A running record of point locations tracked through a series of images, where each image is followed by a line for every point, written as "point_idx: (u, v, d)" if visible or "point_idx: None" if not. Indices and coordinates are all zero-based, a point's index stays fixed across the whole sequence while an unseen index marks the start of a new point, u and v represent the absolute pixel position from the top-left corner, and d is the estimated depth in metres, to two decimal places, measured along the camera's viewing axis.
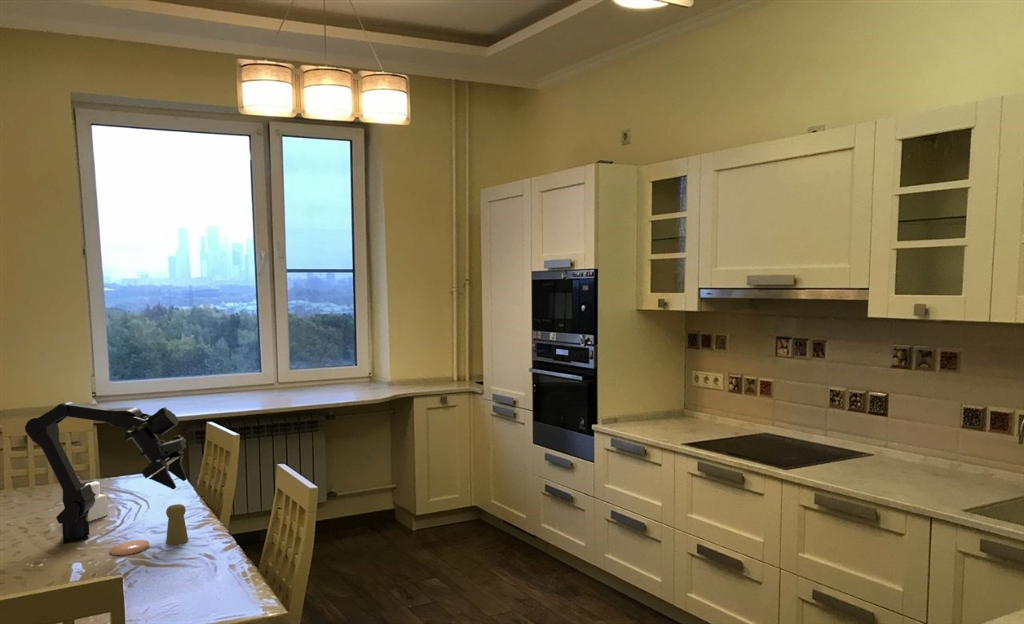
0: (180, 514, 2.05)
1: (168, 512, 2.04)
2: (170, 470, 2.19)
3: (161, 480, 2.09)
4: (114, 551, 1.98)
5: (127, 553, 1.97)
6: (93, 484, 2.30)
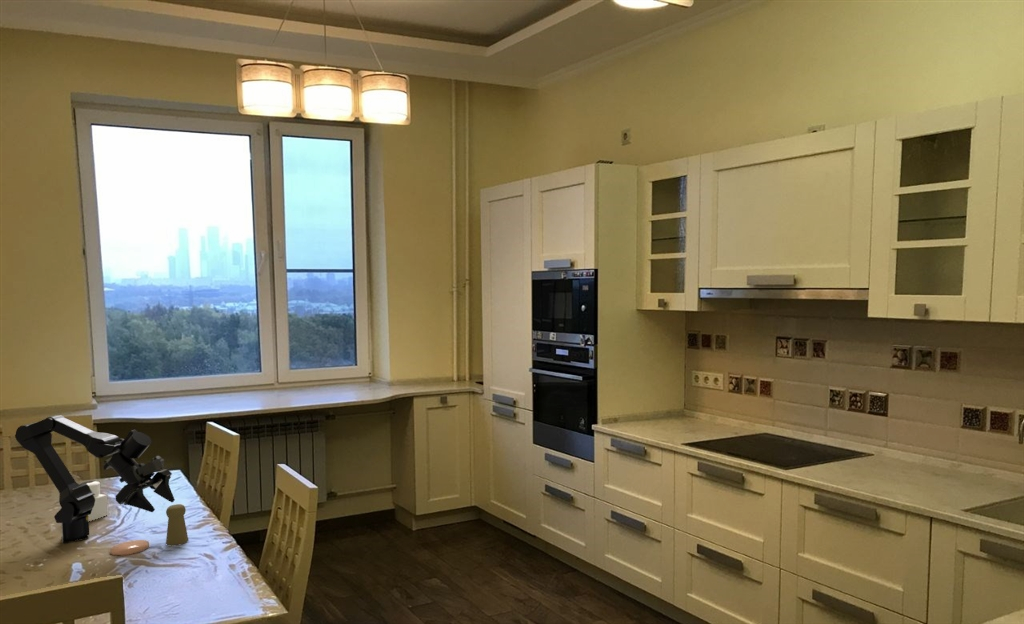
0: (180, 514, 2.05)
1: (168, 512, 2.04)
2: (158, 493, 2.12)
3: (138, 504, 2.02)
4: (114, 551, 1.98)
5: (127, 553, 1.97)
6: (93, 484, 2.30)
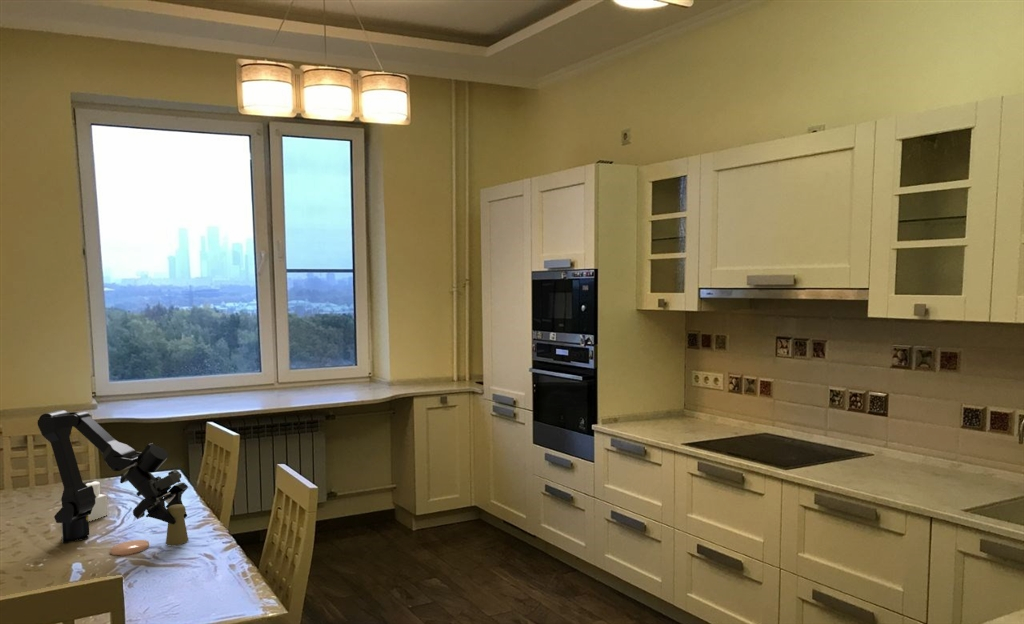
0: (180, 514, 2.05)
1: None
2: None
3: (159, 516, 2.03)
4: (114, 551, 1.98)
5: (127, 553, 1.97)
6: (93, 484, 2.30)
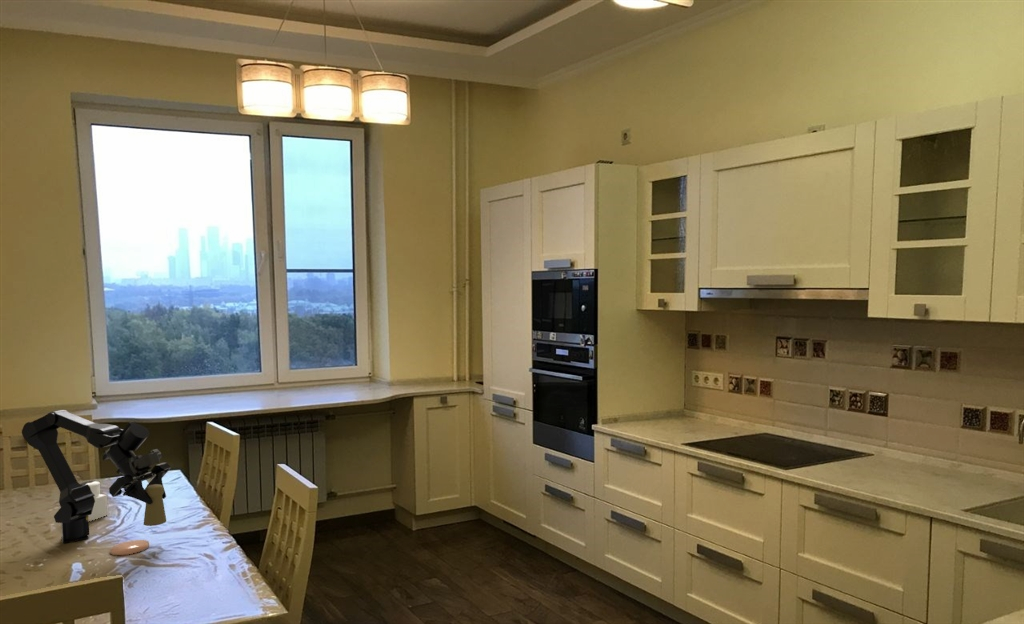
0: (157, 494, 2.02)
1: None
2: None
3: (136, 495, 2.00)
4: (114, 551, 1.98)
5: (127, 553, 1.97)
6: (93, 484, 2.30)
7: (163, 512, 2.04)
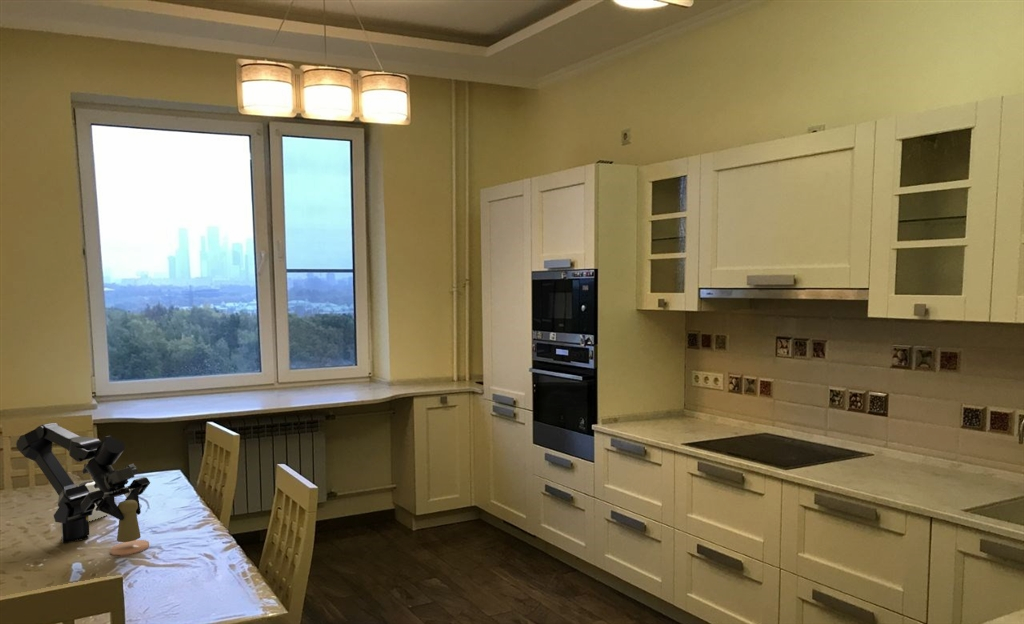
0: (129, 510, 2.00)
1: (118, 507, 2.00)
2: None
3: (109, 511, 1.99)
4: (114, 551, 1.98)
5: (127, 553, 1.97)
6: (93, 484, 2.30)
7: (136, 528, 2.01)
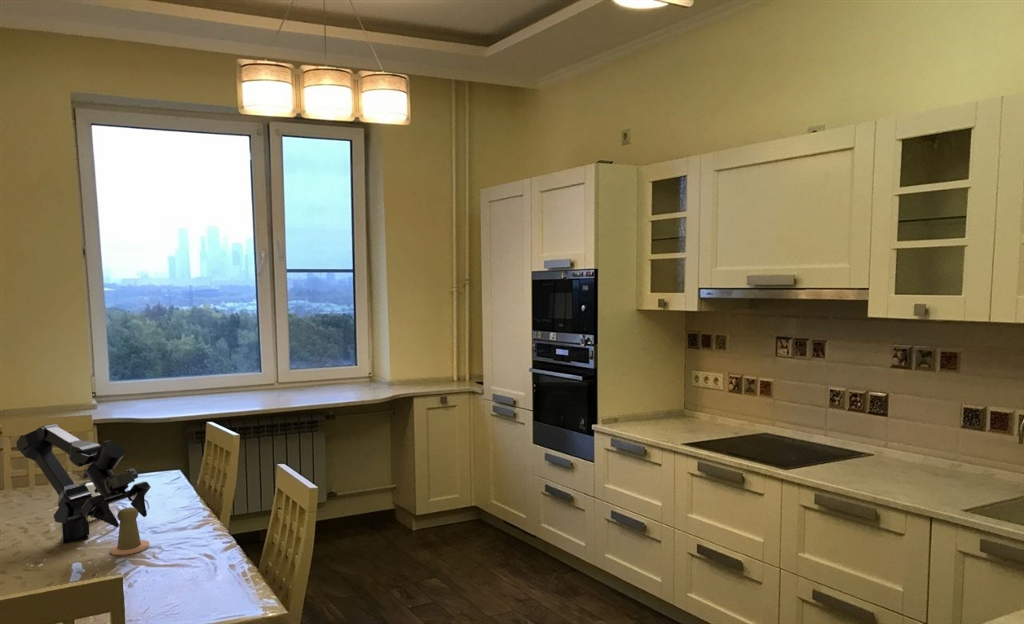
0: (129, 518, 2.00)
1: (118, 515, 2.00)
2: (134, 506, 2.07)
3: (103, 518, 1.97)
4: (114, 551, 1.98)
5: (127, 553, 1.97)
6: (93, 484, 2.30)
7: (136, 536, 2.01)
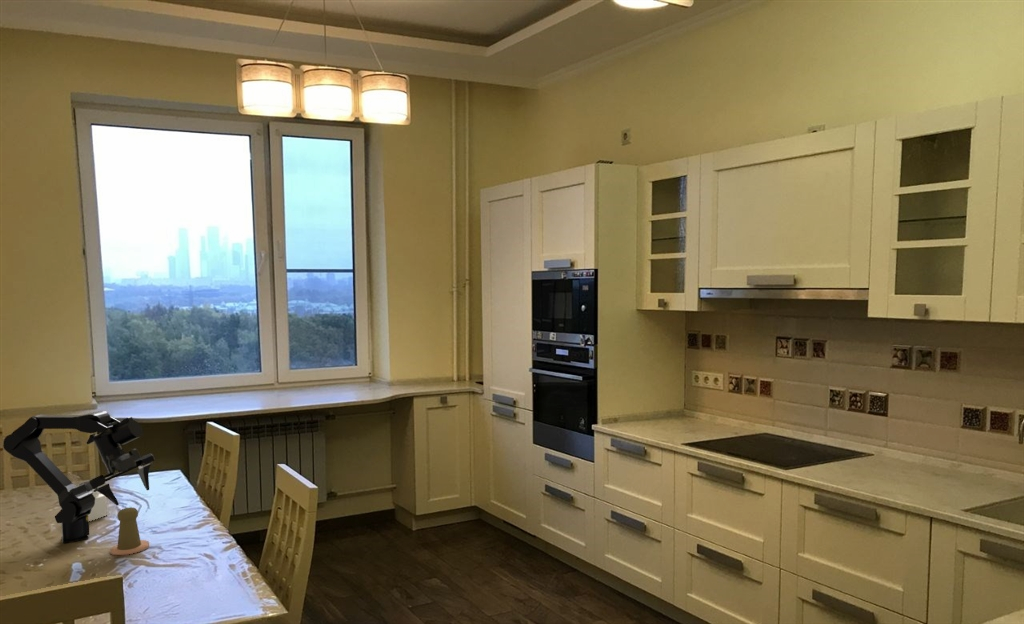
0: (129, 518, 2.00)
1: (118, 515, 2.00)
2: (139, 475, 2.15)
3: (105, 494, 2.06)
4: (114, 551, 1.98)
5: (127, 553, 1.97)
6: None
7: (136, 536, 2.01)
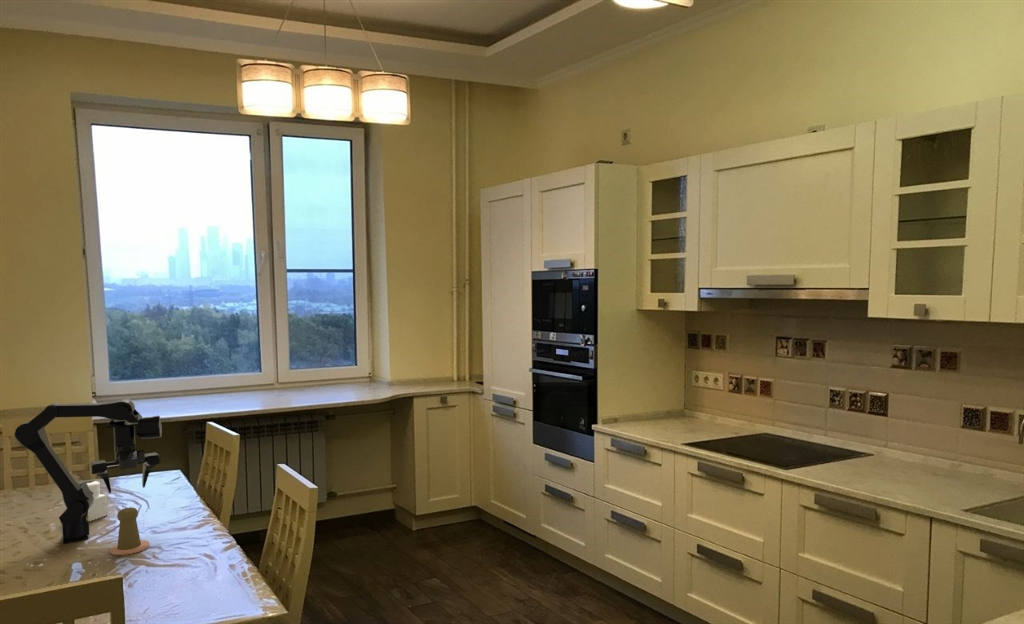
0: (129, 518, 2.00)
1: (118, 515, 2.00)
2: None
3: None
4: (114, 551, 1.98)
5: (127, 553, 1.97)
6: (93, 484, 2.30)
7: (136, 536, 2.01)
